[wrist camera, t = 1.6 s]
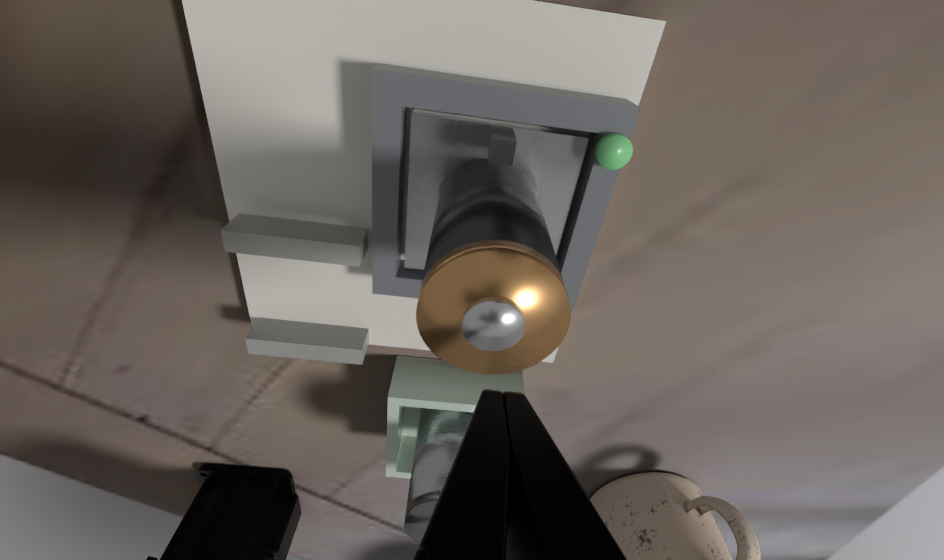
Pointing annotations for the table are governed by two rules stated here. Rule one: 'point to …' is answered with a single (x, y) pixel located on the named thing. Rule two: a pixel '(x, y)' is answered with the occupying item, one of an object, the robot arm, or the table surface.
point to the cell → (491, 274)
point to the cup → (431, 401)
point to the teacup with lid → (670, 520)
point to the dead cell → (432, 464)
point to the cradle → (471, 139)
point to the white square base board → (389, 141)
